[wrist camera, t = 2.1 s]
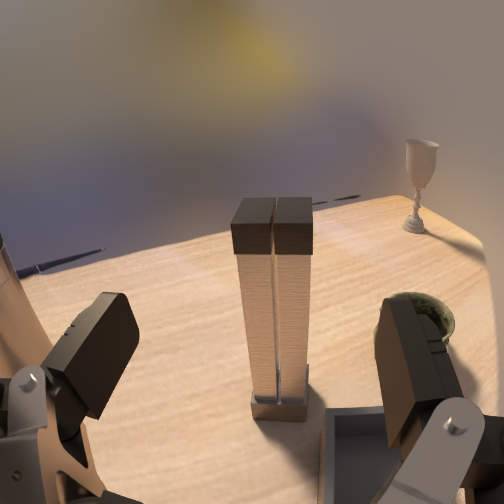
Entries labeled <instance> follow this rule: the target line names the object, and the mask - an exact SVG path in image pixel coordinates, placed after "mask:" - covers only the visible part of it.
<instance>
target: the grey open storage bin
mask: <svg viewBox="0 0 504 504" xmlns="http://www.w3.org/2000/svg"><path fill="white" fill-rule="evenodd" d="M401 459H402V454H401V447H400V448H392V449H389V447H388V438H387V430H386V422H385V414H384V407H383V406H375V407H358V408H326V409H325V414H324V419H323V424H322V429H321V434H320V458H319V482H318V500H317V504H369V503H370V502H371V500H372V499H373V498H374V496H375V495H376V494H377V492H378V491H379V490H380V488H381V487H382V486H383V484H384V483H385V482H386V480H387V479H388V477H389V476H390V475H391V473H392V472H393V470H394V469H395V467H396V466H397V464H398V463H399V461H400V460H401Z"/></svg>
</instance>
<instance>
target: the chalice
mask: <svg viewBox="0 0 504 504" xmlns="http://www.w3.org/2000/svg"><path fill="white" fill-rule="evenodd" d="M405 142H406V145H407V155H406V166H407V170H408V175H409V177H410V180H411V183H412V186H414V187H415V188H416V194H415V196H414V198H415V203H414V204H413V205H412V206H413V207H414V212H413V214H412V215H410V216H408V217H407V218H406V220H405V223H404V224H403V225H402V227H403V229H405V230H406V231H408V232H412V233H422V232H424V231H425V229H424V224H423V220H422V218H421V217H419V215H418V210H419V208H420V205H419V201H420V199H421V196H420V191H421V189H423V188H425V187H426V186H427V184H428V182H429V181H430V179H431V177H432V175H433V173H434V171H435V164H436V152H437V149H438V147H439V145H438V144H436V143H433V142H429V141H424V140H418V139H405Z"/></svg>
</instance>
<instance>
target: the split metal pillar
mask: <svg viewBox="0 0 504 504" xmlns="http://www.w3.org/2000/svg"><path fill="white" fill-rule="evenodd" d="M231 232H232V240H233V249H234V254H236V256H237V265H238V273H239V281H240V289H241V298H242V306H243V314H244V322H245V329H246V337H247V345H248V353H249V360H250V368H251V376H252V383H253V393H252V398H251V409H252V416H253V419H256V420H270V421H289V422H305V421H306V411H307V397H308V375H309V364H307V349H308V330H309V307H310V274H311V255H313V214H312V198H311V197H286V198H285V197H284V198H283V197H280V198H279V199H278V203H277V208H276V198H243V200H242V202H241V204H240V206H239V208H238V210H237V212H236V214H235V216H234V218H233V220H232V222H231Z"/></svg>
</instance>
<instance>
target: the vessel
mask: <svg viewBox="0 0 504 504" xmlns="http://www.w3.org/2000/svg"><path fill="white" fill-rule="evenodd" d="M388 298H410V299H411V301H412V303H413V306H414V308H415V311H416V313H417V315H419V314H426V315H427V316H428V317H429V318H430V319H431V320H432V321H433V322H434V323H435V324H436V325H437V327H438V330H439V332H440V334H441V337H442V342H444V344H445V347H446V345H447V344H448V342H449V337H450V336H451V335H452V333H453V331H454V328H455V320H454V317H453V314H452V312H451V311H450V310H449V309H448V307H447V306H446V305H445V304H444V303H443V302H441V301H440V300H438V299H437V298H435V297H433V296H430V295H427V294H424V293H418V292H402V293H397V294H394V295H392V296H390V297H388ZM381 308H382V306H381ZM381 308H380V313H381ZM378 323H379V322H378ZM377 328H378V324H377V326H376V328H375V330H374V345H375V337H376V332H377ZM374 358H375V356H374ZM375 360H376V359H375Z"/></svg>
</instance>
